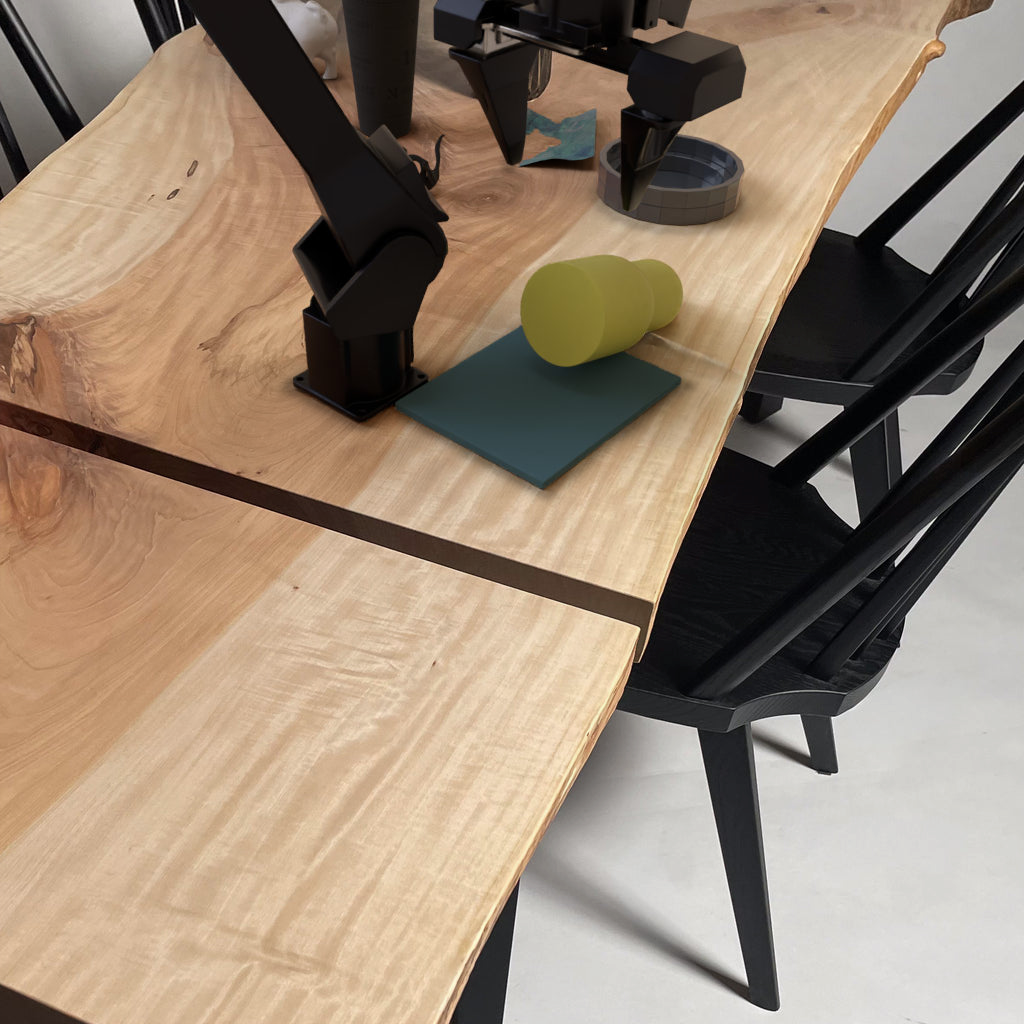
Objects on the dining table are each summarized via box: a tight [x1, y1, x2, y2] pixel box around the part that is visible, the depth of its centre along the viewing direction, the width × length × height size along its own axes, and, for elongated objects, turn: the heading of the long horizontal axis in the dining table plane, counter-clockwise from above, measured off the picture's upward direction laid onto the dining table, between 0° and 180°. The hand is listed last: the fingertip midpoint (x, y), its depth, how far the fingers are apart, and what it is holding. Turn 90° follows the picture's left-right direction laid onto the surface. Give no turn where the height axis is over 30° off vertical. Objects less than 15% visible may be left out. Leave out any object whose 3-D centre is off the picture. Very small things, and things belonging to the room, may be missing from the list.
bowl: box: [596, 133, 746, 226], centre depth 94 cm, size 12×12×4 cm
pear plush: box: [519, 254, 684, 367], centre depth 75 cm, size 7×7×14 cm
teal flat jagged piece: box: [518, 107, 598, 168], centre depth 102 cm, size 13×8×2 cm, turn 176°
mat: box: [394, 324, 682, 490], centre depth 72 cm, size 15×12×1 cm
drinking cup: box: [341, 0, 421, 139], centre depth 98 cm, size 8×8×20 cm
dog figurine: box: [272, 0, 339, 80], centre depth 112 cm, size 5×13×11 cm, turn 51°
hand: (570, 185), depth 68 cm, fingers open, 9 cm apart
